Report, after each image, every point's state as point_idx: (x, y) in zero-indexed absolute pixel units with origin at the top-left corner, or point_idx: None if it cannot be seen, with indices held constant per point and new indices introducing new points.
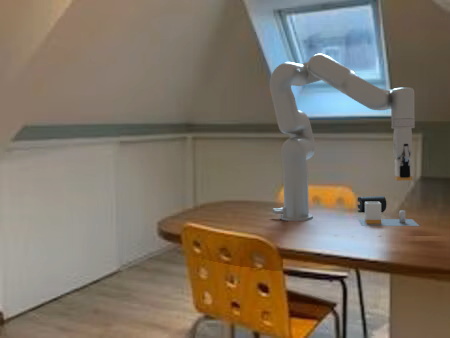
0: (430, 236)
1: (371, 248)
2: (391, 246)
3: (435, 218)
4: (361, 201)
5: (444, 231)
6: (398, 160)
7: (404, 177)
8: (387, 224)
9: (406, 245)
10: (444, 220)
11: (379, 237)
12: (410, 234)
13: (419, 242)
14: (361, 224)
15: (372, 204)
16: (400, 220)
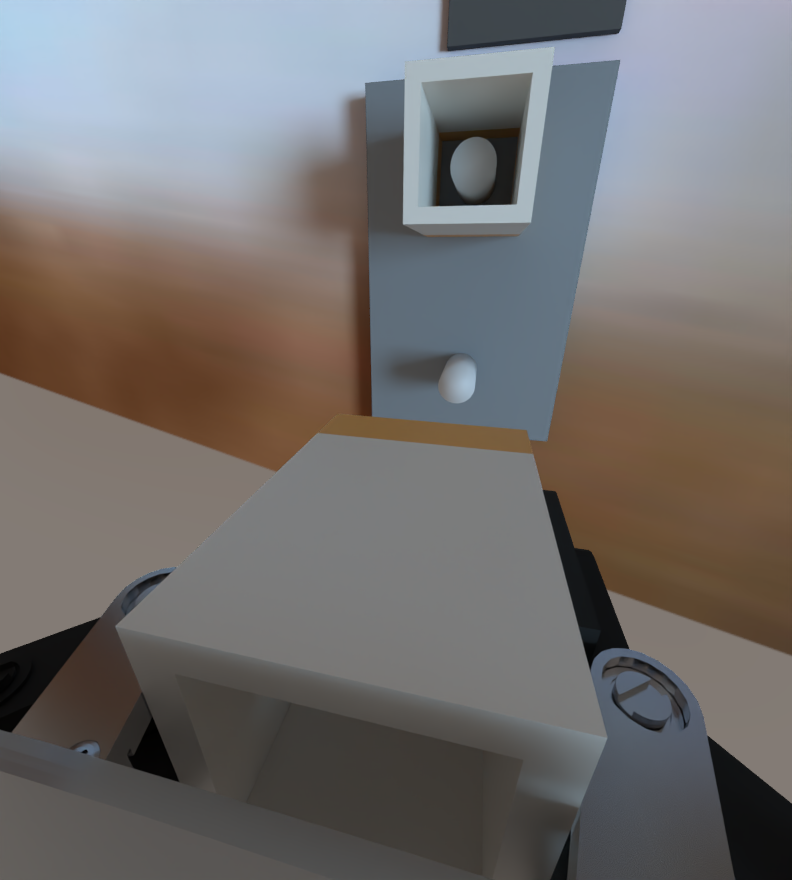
0: (270, 424)
1: (11, 126)
2: (74, 228)
3: (651, 567)
4: None
5: None
6: (139, 648)
7: None
8: (404, 272)
9: (109, 294)
10: None
11: (211, 194)
12: (294, 358)
13: (168, 356)
14: (403, 83)
15: (404, 136)
16: (450, 359)
